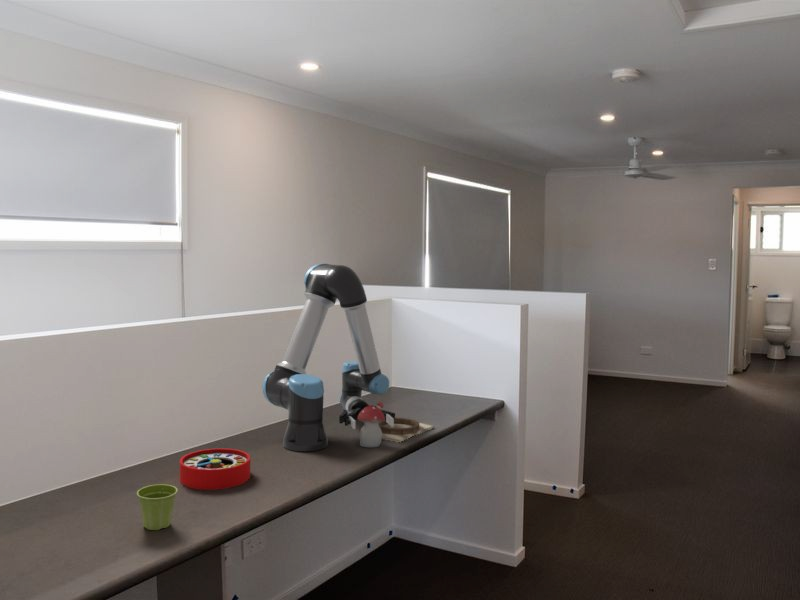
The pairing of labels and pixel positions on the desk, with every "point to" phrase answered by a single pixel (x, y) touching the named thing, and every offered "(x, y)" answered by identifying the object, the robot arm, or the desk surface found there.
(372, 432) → the decorative ornament
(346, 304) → the robot arm
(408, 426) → the collar board
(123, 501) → the desk surface
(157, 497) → the plant pot
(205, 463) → the toy clock
